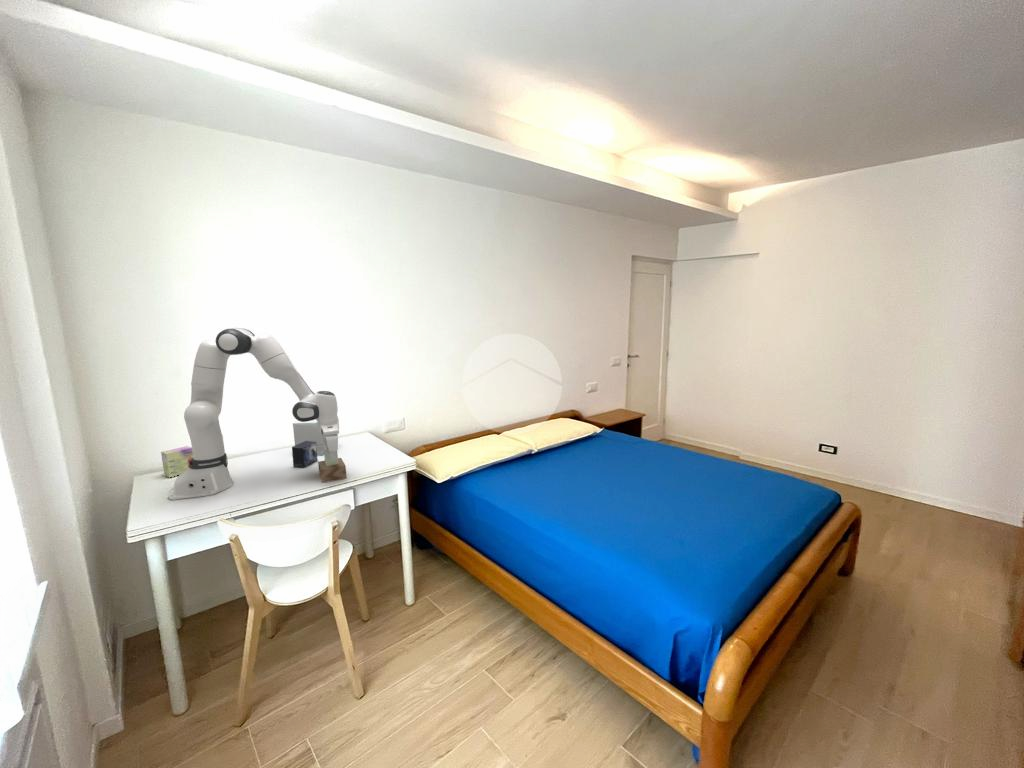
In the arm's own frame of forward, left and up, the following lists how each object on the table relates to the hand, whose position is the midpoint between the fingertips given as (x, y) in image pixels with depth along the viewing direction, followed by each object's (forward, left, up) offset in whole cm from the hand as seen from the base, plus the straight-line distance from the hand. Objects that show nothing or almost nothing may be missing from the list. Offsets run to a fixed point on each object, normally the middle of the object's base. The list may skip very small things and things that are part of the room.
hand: (330, 456), depth 193 cm
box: (-61, +42, -10) cm, 74 cm away
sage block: (0, 0, -4) cm, 4 cm away
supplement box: (-2, +42, -10) cm, 43 cm away
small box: (-9, +24, -10) cm, 27 cm away
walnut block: (0, 0, -10) cm, 10 cm away
